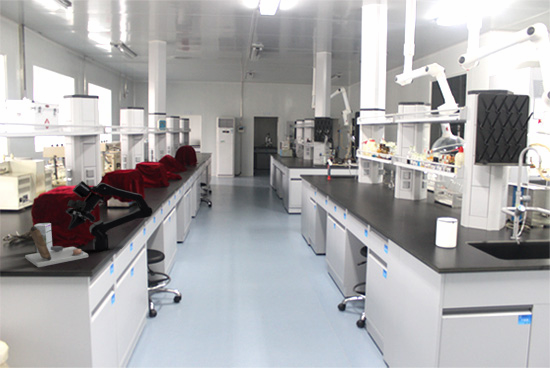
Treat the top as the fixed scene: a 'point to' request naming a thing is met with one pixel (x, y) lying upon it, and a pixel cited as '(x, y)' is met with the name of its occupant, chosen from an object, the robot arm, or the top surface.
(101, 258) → the top surface
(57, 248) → the grey rectangular block
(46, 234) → the syrup box
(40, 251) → the walnut lever
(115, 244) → the top surface
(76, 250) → the terracotta button
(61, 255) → the control panel
